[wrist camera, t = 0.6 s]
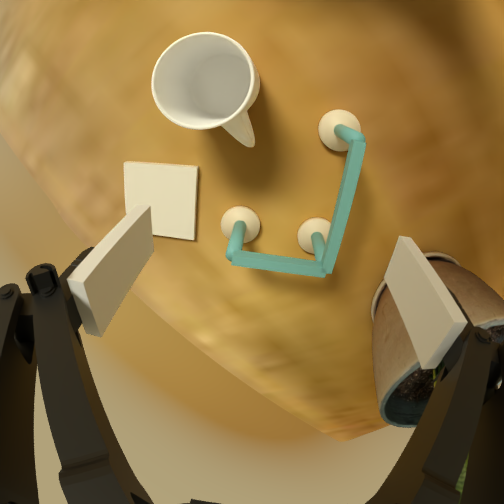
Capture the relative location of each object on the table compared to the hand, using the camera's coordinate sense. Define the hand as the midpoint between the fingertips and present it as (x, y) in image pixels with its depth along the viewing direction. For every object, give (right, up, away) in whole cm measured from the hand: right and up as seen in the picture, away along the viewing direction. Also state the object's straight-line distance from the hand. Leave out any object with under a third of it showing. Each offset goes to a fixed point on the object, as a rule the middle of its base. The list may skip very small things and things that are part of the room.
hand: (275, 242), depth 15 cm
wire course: (+3, +8, +20) cm, 22 cm away
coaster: (-13, +6, +22) cm, 27 cm away
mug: (-4, +17, +15) cm, 23 cm away
